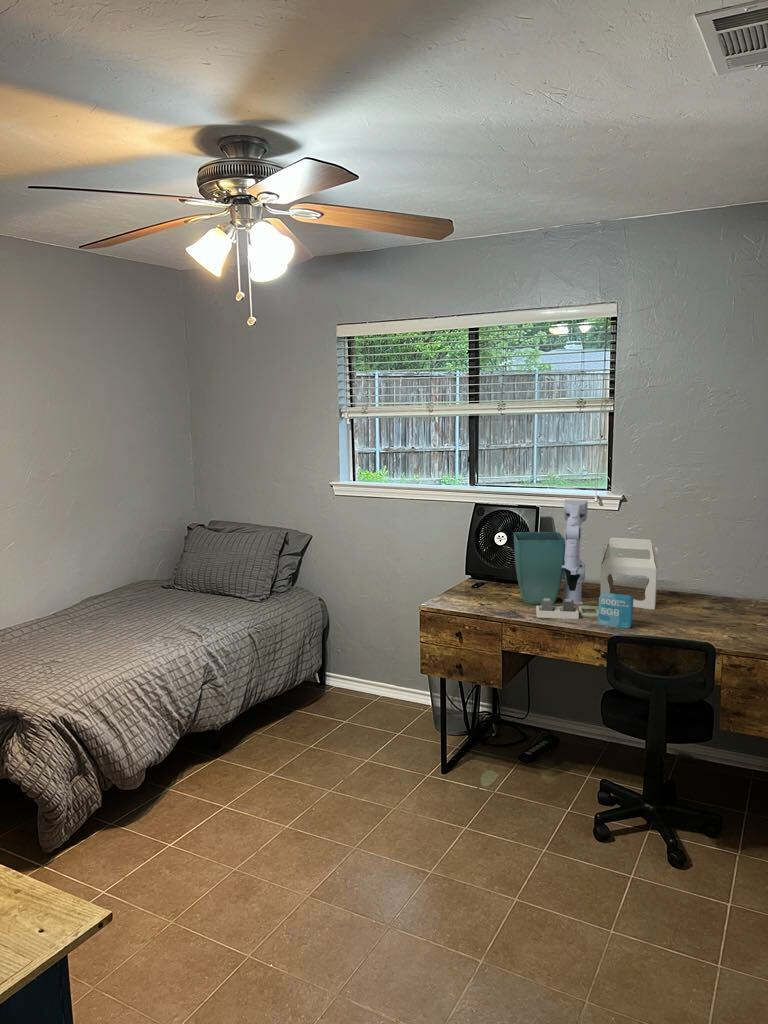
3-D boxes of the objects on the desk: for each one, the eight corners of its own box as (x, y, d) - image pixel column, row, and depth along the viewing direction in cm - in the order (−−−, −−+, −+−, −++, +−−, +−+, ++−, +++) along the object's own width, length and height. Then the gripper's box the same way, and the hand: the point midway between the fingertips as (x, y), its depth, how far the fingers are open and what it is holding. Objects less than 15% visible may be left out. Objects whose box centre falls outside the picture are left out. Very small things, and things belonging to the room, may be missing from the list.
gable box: (656, 601, 320) (659, 536, 316) (655, 609, 308) (658, 542, 304) (602, 597, 328) (604, 533, 324) (599, 605, 316) (601, 539, 312)
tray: (578, 609, 310) (578, 605, 310) (606, 609, 308) (606, 606, 308) (581, 616, 299) (581, 613, 299) (609, 617, 298) (609, 614, 297)
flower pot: (512, 594, 334) (513, 531, 330) (557, 594, 333) (559, 531, 328) (515, 606, 315) (516, 540, 310) (564, 607, 313) (566, 540, 309)
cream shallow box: (535, 612, 305) (536, 603, 305) (576, 614, 303) (576, 605, 302) (536, 618, 298) (537, 609, 297) (578, 620, 295) (578, 610, 295)
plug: (562, 613, 302) (562, 598, 301) (572, 614, 301) (573, 598, 300) (563, 616, 298) (563, 601, 297) (573, 617, 297) (574, 601, 296)
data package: (597, 625, 288) (598, 595, 286) (600, 622, 292) (601, 592, 290) (630, 629, 283) (631, 598, 281) (632, 626, 287) (633, 595, 285)
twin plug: (541, 613, 303) (541, 597, 302) (551, 613, 302) (551, 598, 301) (541, 616, 299) (542, 600, 298) (552, 616, 299) (552, 600, 298)
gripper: (560, 551, 310) (559, 583, 312) (563, 558, 296) (562, 592, 298) (578, 551, 309) (577, 583, 311) (582, 559, 295) (581, 593, 297)
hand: (571, 588), depth 305 cm, fingers open, 7 cm apart
